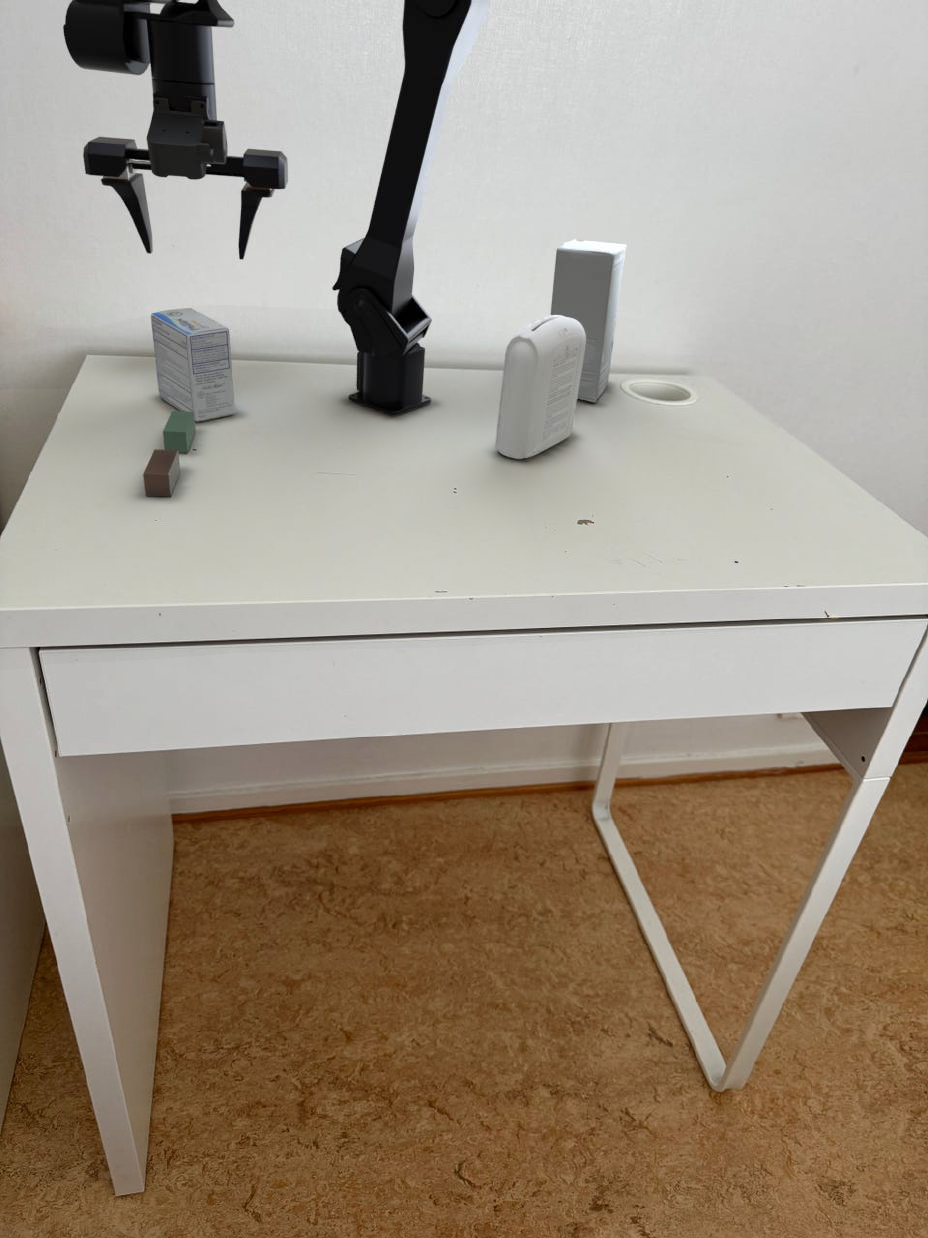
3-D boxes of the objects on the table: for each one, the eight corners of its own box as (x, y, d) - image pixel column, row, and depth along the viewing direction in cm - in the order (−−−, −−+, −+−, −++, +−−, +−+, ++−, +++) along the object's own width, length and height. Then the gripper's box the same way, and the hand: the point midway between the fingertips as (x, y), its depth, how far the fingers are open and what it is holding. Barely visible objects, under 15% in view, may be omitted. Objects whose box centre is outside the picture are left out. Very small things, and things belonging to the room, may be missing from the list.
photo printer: (541, 424, 95) (557, 303, 89) (577, 436, 93) (596, 313, 87) (487, 452, 88) (501, 322, 81) (525, 465, 86) (542, 333, 79)
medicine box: (236, 415, 90) (231, 327, 86) (195, 423, 88) (187, 333, 83) (198, 391, 95) (191, 306, 90) (157, 398, 92) (148, 311, 88)
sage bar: (187, 453, 82) (185, 431, 81) (164, 452, 82) (162, 430, 81) (195, 431, 86) (194, 411, 85) (173, 430, 86) (171, 410, 85)
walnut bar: (170, 497, 74) (168, 474, 73) (145, 496, 74) (142, 473, 73) (180, 471, 79) (178, 449, 77) (156, 470, 78) (154, 448, 77)
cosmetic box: (596, 404, 102) (621, 255, 93) (534, 393, 103) (554, 245, 95) (610, 383, 109) (634, 242, 100) (552, 372, 110) (571, 233, 102)
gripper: (55, 76, 78) (82, 267, 86) (278, 96, 80) (283, 280, 89) (87, 69, 87) (108, 243, 95) (286, 87, 89) (289, 255, 98)
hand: (196, 255), depth 94 cm, fingers open, 9 cm apart
